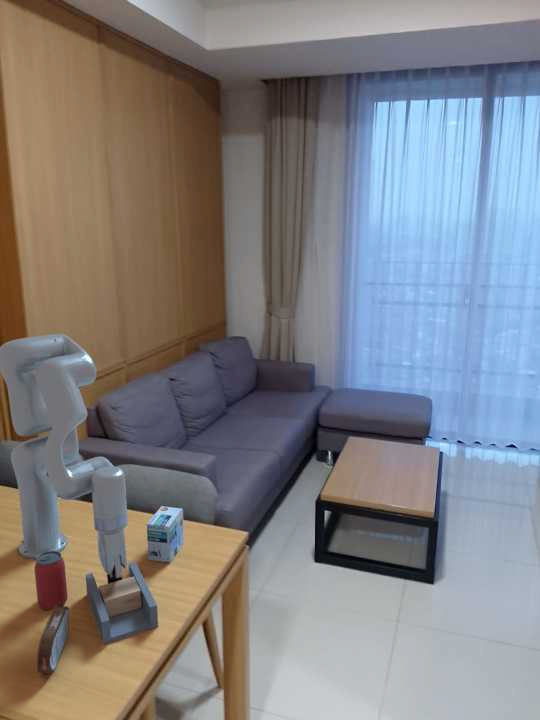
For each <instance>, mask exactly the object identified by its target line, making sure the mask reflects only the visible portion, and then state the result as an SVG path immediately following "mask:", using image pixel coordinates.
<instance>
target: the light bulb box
mask: <svg viewBox="0 0 540 720" xmlns="http://www.w3.org/2000/svg"><path fill="white" fill-rule="evenodd" d="M184 531H185V530H184V509H183V508H181V507H180V508H178V507H172V506H171V507H170V506H163V505H162V506H161V505H160V508H158V510H156V512H155V513H154V514H153V516H152V517H150V520H149V521H147V523H146V535H147V536H146V537H147V538H146V539H147V559H148V561H149V560H150V561H155V562H162V563H163V562H164V563H172V561H173V560H174V559H175V557H176V556H177V554H178V553H179V551H180V550H181V549H182V547H183V545H184V544H185V539H184V538H185V537H184V533H185V532H184Z"/></svg>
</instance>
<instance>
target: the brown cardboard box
mask: <svg viewBox="0 0 540 720" xmlns="http://www.w3.org/2000/svg"><path fill="white" fill-rule="evenodd" d="M98 588H99V592H100V595H101V598H102V601H103V603H104V606H105V609H106V612H107V615H108V617H112V616H115V615H119V614H122V613H125V612H128V611H132V610H135V609H138V608H142V606H141V590H140V588H139V586H138V584H137V582H136V580H135V578H134V577H130V578H129V577H127V578H124V579H123V578H122V580H119V581H116V582H112V583H109V584H108V583H106V584H102V585H99V586H98Z"/></svg>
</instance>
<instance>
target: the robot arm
mask: <svg viewBox="0 0 540 720" xmlns="http://www.w3.org/2000/svg"><path fill="white" fill-rule="evenodd" d="M0 373H1V376H2V378H3V379H4V382H5V384H6V389H7V394H8V401H9V402H8V403H9V408H10V416H11V423H12V426H13V430H14V432H15V433H16V435H18V436H20V437H21V436H22V437H32V436H34V435H36V436H37V435H38V434H42V433H46V432H49V431H50V432H49V434H46V435H43V436H42V435H40V436H37V437H35V438H31V439H28V440H24V441H23V442H22V441H21V442H20V443H18V444H16V445H15V446H14V447H13V449H12V451H11V453H10V462H11V464H12V468H13V471H14V473H15V474H14V475H15V478H16V483H17V488H18V490H17V491H18V498H19V506H20V508H19V509H20V516H21V524H22V525H21V526H22V537H23V540H22V541H21V542H20V543H19V544H18V553H19V555H20V556H22V557H24V558H27V559H35V560H36V559H37V557H38V556H39V555H41V554H42V553H45V552H48V551H57V552H61V551H62V550H63V549H64V548H65V547H66V546H67V543H68V538H67V536H66V534H64V533H63V532H61V526H60V514H59V504H58V503H59V501H58V497H59V498H60V499H62V500H64V501H69V500H75V499H76V498H79V497H82V496H85V495H87V494H89V493H91V498H92V511H93V522H94V523H93V525H94V526H93V527H94V530H95V531H96V532H97V554H98V558H99V560H100V563H101V566H102V569H103V571H104V572H105V574H106V578H107V584H109V583H112V582H116V581H119V580H123V569H124V570H126V568H127V564H128V563H127V549H126V537H125V536H126V535H125V528H126V527H127V526H128V524H129V522H128V521H129V520H128V510H127V509H128V508H127V507H128V506H127V505H128V504H127V488H126V475H125V471H124V470H123V468H120V467H119V466H114V465H113V463H112V462H110V460H109V459H108V458H106V457H104V456H95V457H93V458H88V459H85V460H82V461H79V462H77V463H74V464H71V463H73V462H75V461H76V460H77V459H78V456H79V450H80V449H79V448H80V446H79V438H78V437H79V436H78V429H77V427H78V426H79V425H80V424H82V423H83V422H84V421H85V420H86V419H87V418H88V410H87V407H86V405H85V402H84V400H83V396H82V393H81V390H80V387H85V386H88V385H89V386H90V385H91V384H93V383H94V382H95V381H96V378H97V367H96V365H95V362H94V361H93V359H92V357H91V356H90V355H89V353H88V352H86V351H85V349H84V348H82V347H81V346H80V345H79V344H78V343H76V342H75V341H74V340H73V339H72V338H71V337H69V336H67V335H66V334H62V333H52V334H46V335H40V336H39V335H38V336H31V337H30V336H29V337H23V338H18V339H14V340H9V341H7V342H4V343H3V344H2V345H1V346H0ZM69 464H71V465H69ZM66 465H67V466H66Z"/></svg>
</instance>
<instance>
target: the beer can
mask: <svg viewBox="0 0 540 720" xmlns="http://www.w3.org/2000/svg"><path fill="white" fill-rule="evenodd" d="M65 563H66V562H65V560H64V558H63V556H62V553H61V551H59V552H57V551H48V552H45V553H42V554H41V555H39V556H38V557H37V558H36V559H35V565H34V576H35V577H34V579H35V587H36V597H37V605H38V606H39V608H41V609H42V610H44V611H45V610H46V611H50V610H51V611H53V609H54V607H55V606H63V605H65V603H66V602H67V600H68V588H67V575H66V566H65V565H66V564H65Z"/></svg>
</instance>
